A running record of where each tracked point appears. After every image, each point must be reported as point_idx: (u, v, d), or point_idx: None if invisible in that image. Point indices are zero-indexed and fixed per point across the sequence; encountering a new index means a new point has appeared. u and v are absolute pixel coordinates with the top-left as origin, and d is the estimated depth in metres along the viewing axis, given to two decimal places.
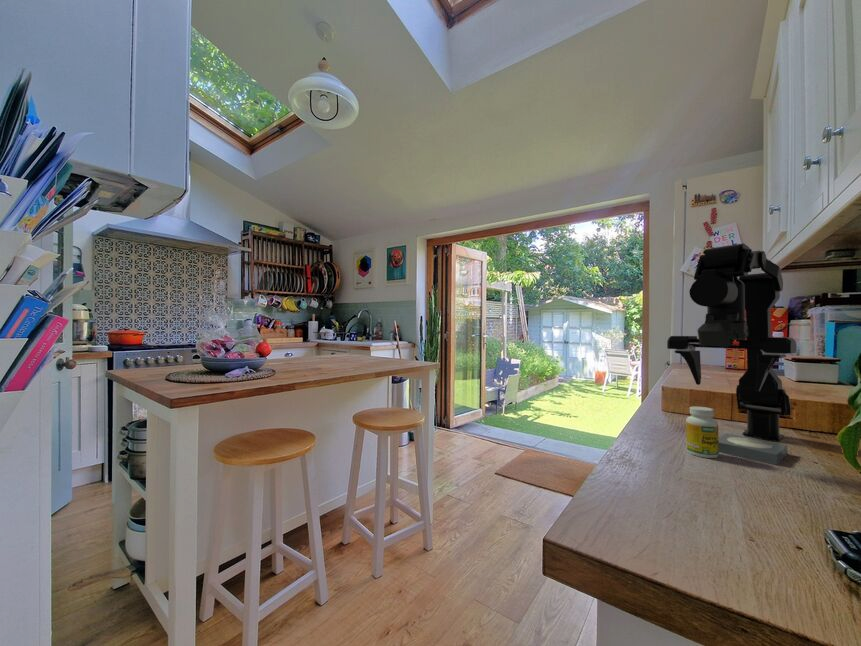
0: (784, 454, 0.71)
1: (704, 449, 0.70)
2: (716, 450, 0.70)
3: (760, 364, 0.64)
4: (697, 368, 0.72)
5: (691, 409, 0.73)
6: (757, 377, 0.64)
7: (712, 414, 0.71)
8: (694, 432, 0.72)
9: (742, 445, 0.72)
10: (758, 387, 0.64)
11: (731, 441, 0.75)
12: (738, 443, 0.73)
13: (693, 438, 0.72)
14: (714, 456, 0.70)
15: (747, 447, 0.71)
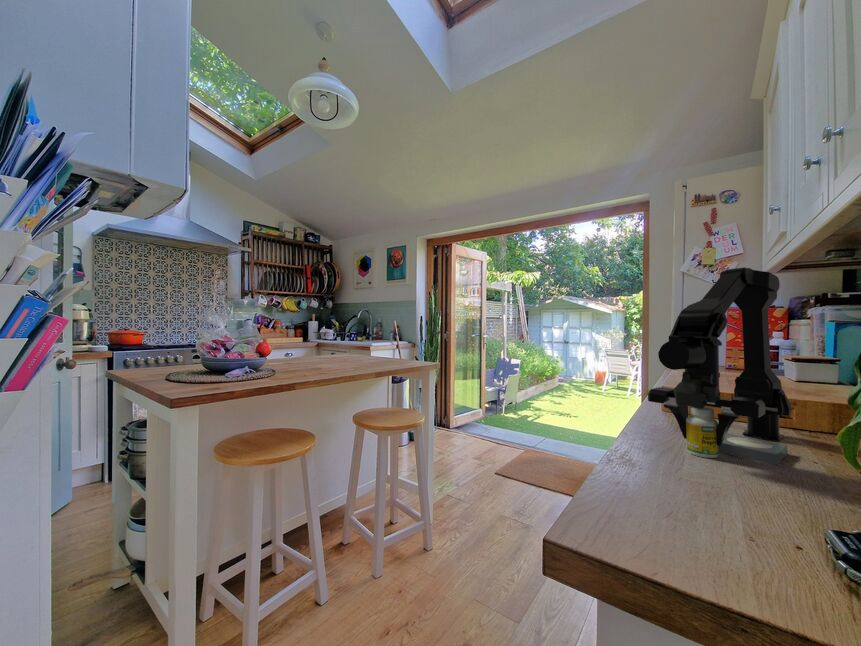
0: (784, 454, 0.71)
1: (704, 449, 0.70)
2: (716, 450, 0.70)
3: (720, 422, 0.69)
4: (685, 423, 0.75)
5: (691, 409, 0.73)
6: (718, 433, 0.70)
7: (712, 414, 0.71)
8: (694, 432, 0.72)
9: (742, 445, 0.72)
10: (719, 442, 0.70)
11: (731, 441, 0.75)
12: (738, 443, 0.73)
13: (693, 438, 0.72)
14: (714, 456, 0.70)
15: (747, 447, 0.71)
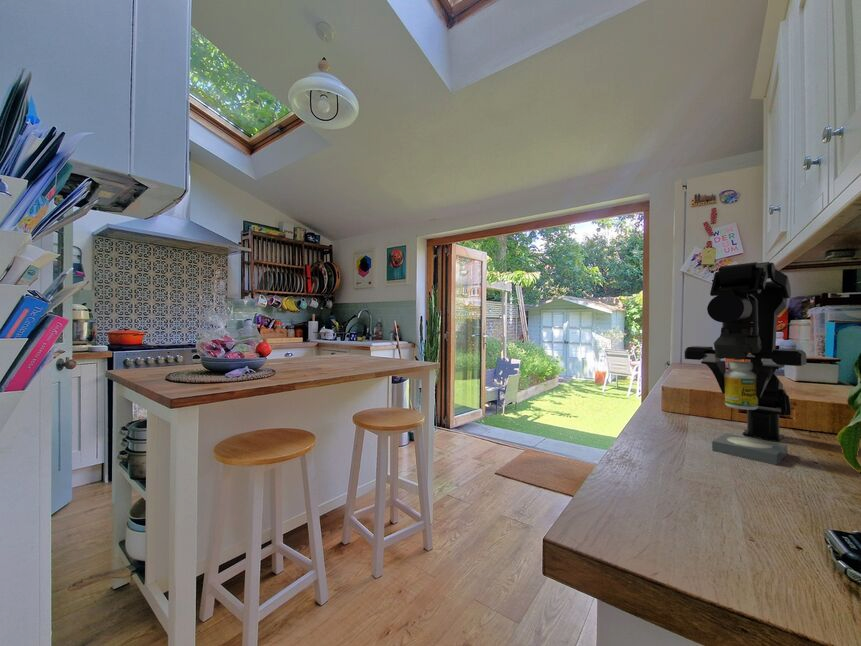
0: (784, 454, 0.71)
1: (744, 401, 0.72)
2: (756, 402, 0.72)
3: (761, 374, 0.70)
4: (723, 378, 0.76)
5: (730, 363, 0.74)
6: (758, 385, 0.71)
7: (751, 367, 0.72)
8: (733, 385, 0.73)
9: (742, 445, 0.72)
10: (759, 394, 0.71)
11: (731, 441, 0.75)
12: (738, 443, 0.73)
13: (732, 391, 0.73)
14: (754, 407, 0.72)
15: (747, 447, 0.71)
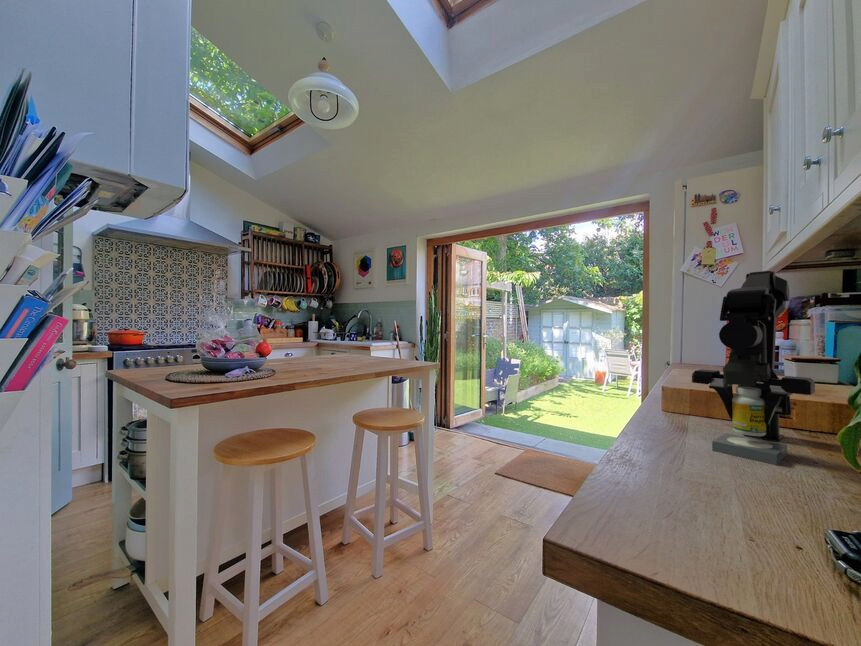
0: (784, 454, 0.71)
1: (752, 428, 0.72)
2: (764, 428, 0.72)
3: (769, 400, 0.70)
4: (730, 403, 0.76)
5: (738, 389, 0.74)
6: (766, 412, 0.71)
7: (760, 393, 0.72)
8: (742, 411, 0.73)
9: (742, 445, 0.72)
10: (767, 421, 0.71)
11: (731, 441, 0.75)
12: (738, 443, 0.73)
13: (741, 417, 0.73)
14: (762, 434, 0.71)
15: (747, 447, 0.71)
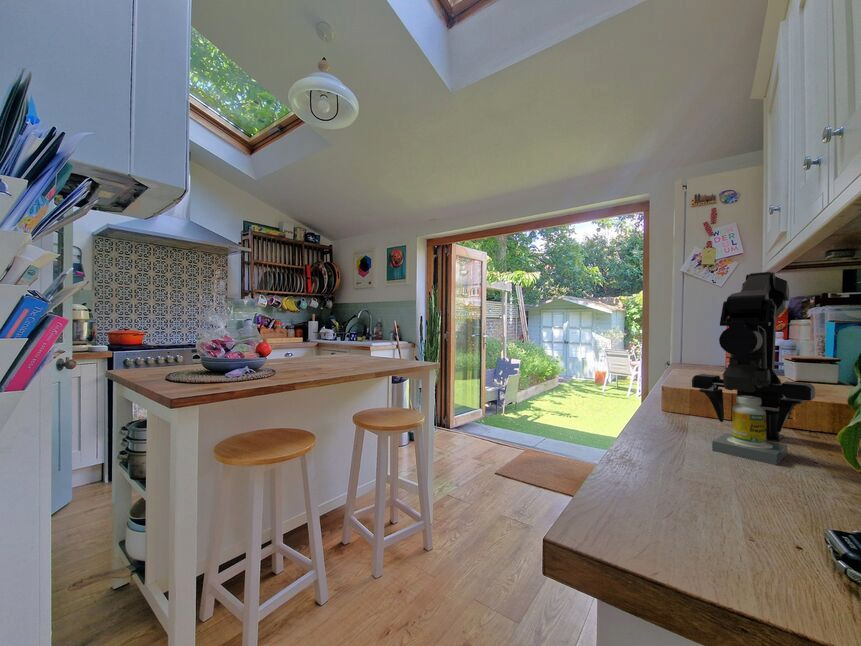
0: (784, 454, 0.71)
1: (752, 437, 0.72)
2: (764, 438, 0.71)
3: (781, 408, 0.69)
4: (720, 406, 0.78)
5: (738, 398, 0.74)
6: (778, 419, 0.70)
7: (760, 403, 0.72)
8: (742, 420, 0.73)
9: (742, 445, 0.72)
10: (779, 428, 0.70)
11: (731, 441, 0.75)
12: (738, 443, 0.73)
13: (741, 426, 0.73)
14: (762, 444, 0.71)
15: (747, 447, 0.71)
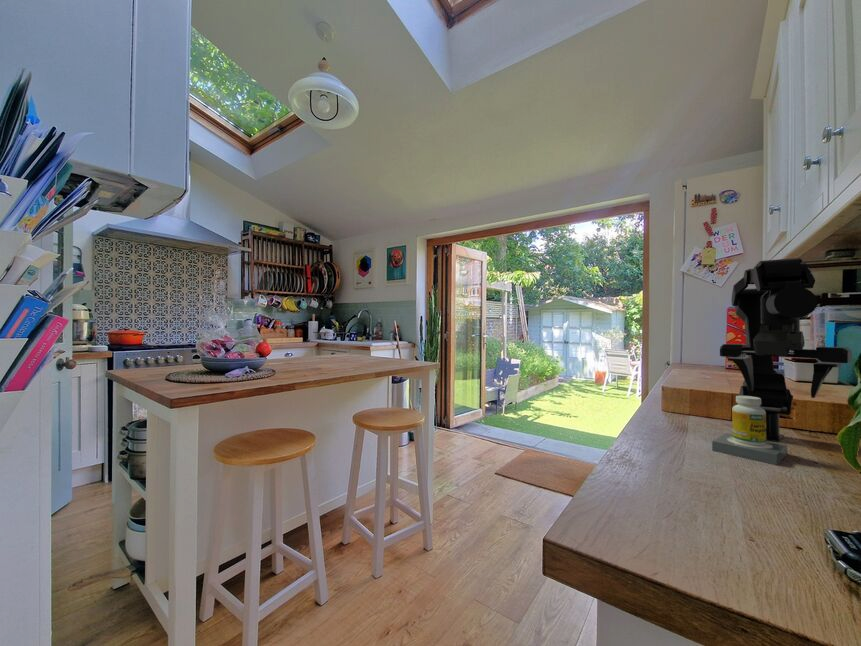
0: (784, 454, 0.71)
1: (752, 437, 0.72)
2: (764, 438, 0.72)
3: (816, 372, 0.67)
4: (750, 375, 0.76)
5: (738, 398, 0.74)
6: (812, 385, 0.68)
7: (760, 402, 0.72)
8: (742, 420, 0.73)
9: (742, 445, 0.72)
10: (813, 394, 0.68)
11: (731, 441, 0.75)
12: (738, 443, 0.73)
13: (741, 426, 0.73)
14: (762, 444, 0.71)
15: (747, 447, 0.71)
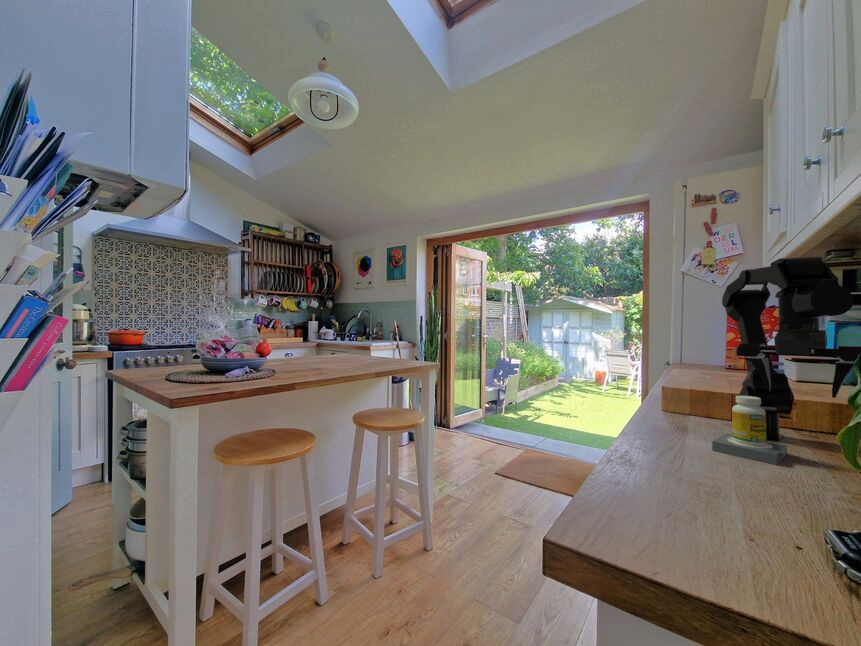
0: (784, 454, 0.71)
1: (752, 437, 0.72)
2: (764, 438, 0.72)
3: (837, 372, 0.66)
4: (767, 375, 0.75)
5: (738, 398, 0.74)
6: (834, 384, 0.67)
7: (760, 402, 0.72)
8: (742, 420, 0.73)
9: (742, 445, 0.72)
10: (835, 394, 0.67)
11: (731, 441, 0.75)
12: (738, 443, 0.73)
13: (741, 426, 0.73)
14: (762, 444, 0.71)
15: (747, 447, 0.71)
